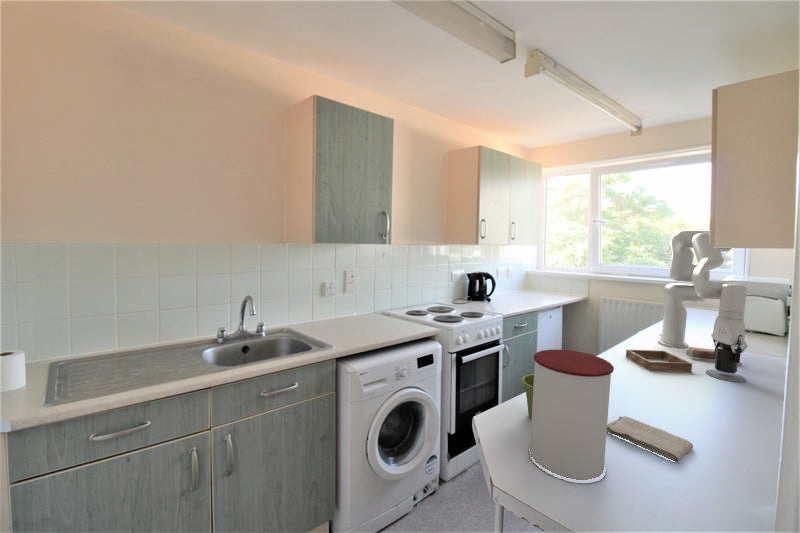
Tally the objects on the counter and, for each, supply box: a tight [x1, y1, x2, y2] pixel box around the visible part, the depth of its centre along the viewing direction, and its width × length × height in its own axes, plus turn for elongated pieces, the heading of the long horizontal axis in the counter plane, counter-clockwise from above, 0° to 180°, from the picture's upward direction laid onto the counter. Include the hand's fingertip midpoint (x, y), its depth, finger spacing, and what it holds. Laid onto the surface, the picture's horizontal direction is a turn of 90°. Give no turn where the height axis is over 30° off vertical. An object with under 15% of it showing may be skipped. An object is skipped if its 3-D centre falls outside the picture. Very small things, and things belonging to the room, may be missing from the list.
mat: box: [705, 369, 746, 383], centre depth 148 cm, size 12×12×1 cm
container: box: [529, 349, 615, 480], centre depth 89 cm, size 17×17×25 cm
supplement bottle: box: [714, 342, 739, 374], centre depth 147 cm, size 7×7×12 cm
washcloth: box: [607, 415, 694, 463], centre depth 100 cm, size 12×18×3 cm, turn 37°
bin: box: [625, 348, 693, 373], centre depth 161 cm, size 17×17×4 cm
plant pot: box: [521, 373, 534, 419], centre depth 110 cm, size 12×12×11 cm
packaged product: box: [684, 346, 743, 366], centre depth 168 cm, size 18×5×10 cm
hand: (726, 358), depth 148 cm, fingers closed on supplement bottle, 6 cm apart
